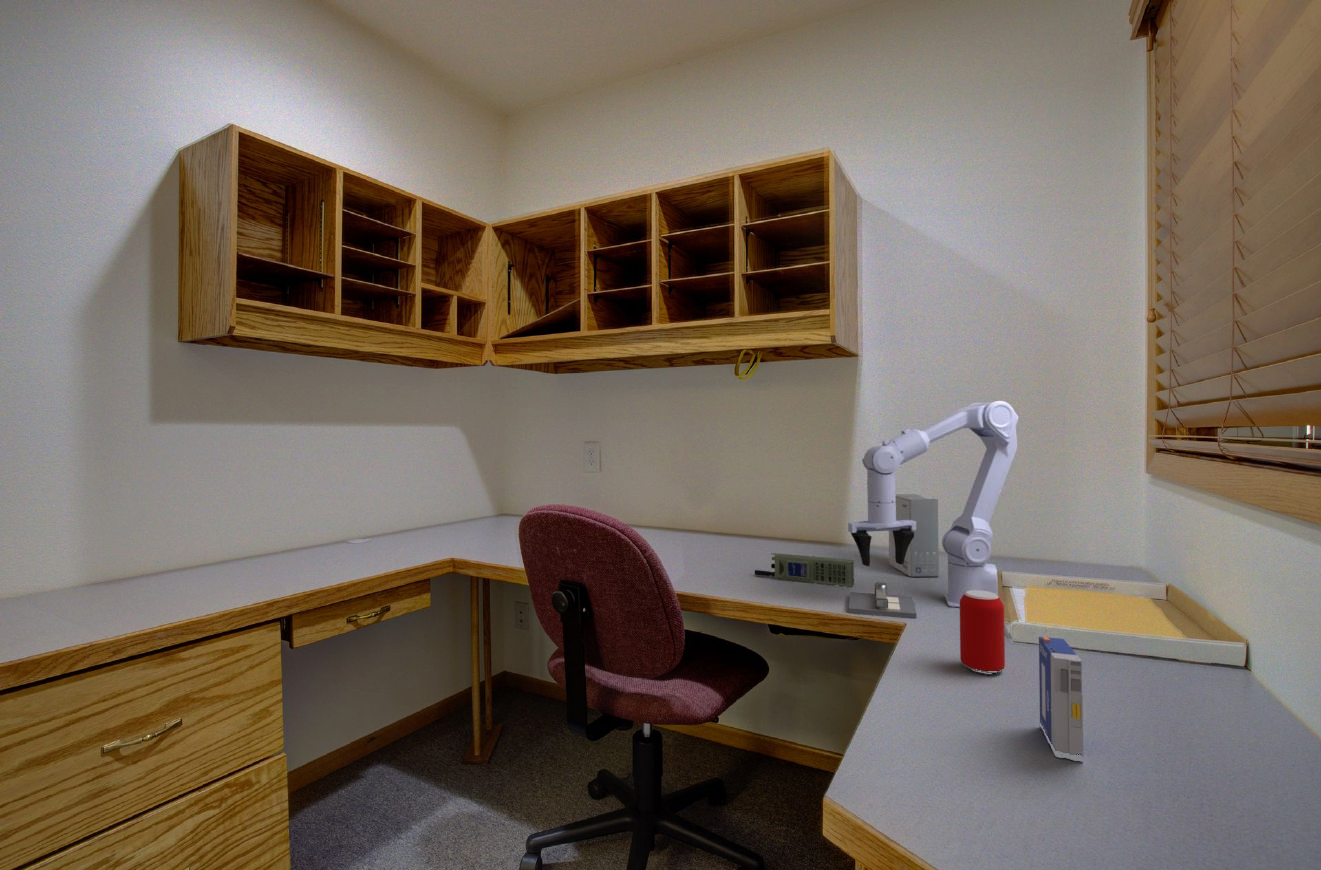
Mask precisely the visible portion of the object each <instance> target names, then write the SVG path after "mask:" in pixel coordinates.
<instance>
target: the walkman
mask: <svg viewBox="0 0 1321 870" xmlns="http://www.w3.org/2000/svg"><path fill="white" fill-rule="evenodd" d="M1038 661H1039V662H1038V665H1039V666H1038V668H1039V669H1038V670H1039V671H1038V672H1039V673H1038V674H1039V681H1038V682H1039V684H1038V685H1039V724H1040V723H1041V725H1042V726H1043V729H1044V730H1045V733H1046V735H1047V736H1048V738H1049V740H1050V742H1051V744H1052V745H1053V747H1054V749H1055V751H1060V752H1063V753H1069V754H1070V755H1077V754H1078V753H1079V754H1080V755H1081V756H1082V757H1083V758H1084V709H1083V708H1084V707H1083V705H1084V701H1083V663H1082V662H1083V660H1082V659H1081V658H1080V657H1079V656H1078V654H1076V652H1075V651H1074V650H1073V648H1072V647H1071V646H1070V645H1069V644H1068V642H1067V641H1066V640H1065V639H1064V638H1059V637H1056V638H1055V637H1048V636H1039V637H1038ZM1079 754H1078V755H1079Z"/></svg>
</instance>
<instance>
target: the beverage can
mask: <svg viewBox="0 0 1321 870" xmlns="http://www.w3.org/2000/svg"><path fill="white" fill-rule="evenodd" d="M1005 644H1006V643H1005V605H1004V603H1003V602H1002V600H1001V598H1000V596H999V594H998V595H996V594H995V593H992V592H988V591H981V590H970V591H967V592H965V593H964V594H963V596H962V598H961V599H960V607H959V648H960V649H959V653H960V654H959V655H960V657H959V659H960V662H961V663H962V665H964V667H966V668H967V667H968V669H969V668H970V669H973V670H975V671H980V670H981V672H986V673H996V674H998V673H1000V672H1003V671H1004V669H1005V666H1006V664H1005V663H1006V662H1005V661H1006V660H1005V659H1006V658H1005V656H1006V655H1005V654H1006V652H1005V651H1006V649H1005V648H1006V647H1005V646H1006V645H1005ZM970 669H969V670H970ZM976 669H977V670H976ZM1002 669H1003V670H1002ZM1000 670H1001V671H1000ZM988 671H997V672H998V673H997V672H988Z"/></svg>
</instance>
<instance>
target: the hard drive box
mask: <svg viewBox="0 0 1321 870" xmlns="http://www.w3.org/2000/svg"><path fill="white" fill-rule="evenodd" d="M895 494H896V520H913V521H916V530H911V531H912V532H914V538H913V539H912V541H911V542H910V544H909V547H908V549H907V552H906V555H905V559H904V564H902V565H901V564H898V563H896V559H895V541H894V536H893V531H888V558H889V559H888V563H889V565H890V566H892V567H893V568H895V569H896V570H899V571H900V572H901V573H903V574H905V575H906V576H908V577H914V578H916V577H930V578H932V577H934V578H935V577H939V576H940V570H939V569H940V568H939V567H940V565H939V564H940V563H939V562H940V560H939V559H940V557H939V550H940V548H939V499H938V498H933V497H930V496H924V495H919V494H915V493H899V494H898V493H895Z"/></svg>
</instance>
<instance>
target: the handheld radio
mask: <svg viewBox="0 0 1321 870" xmlns="http://www.w3.org/2000/svg"><path fill="white" fill-rule="evenodd" d="M771 555H773V556H772V557H771V560H772V561H774V563H771V565H770V567H771V569H774V571H770V570H769V571H768V570H760V569H759V570H758V569H755V570H754V575H756V576H763V577H773V578H774V580H776V579H779V580H778V581H787V582H795V581H797V582H796V583H806V584H807V583H808V584H814V583H817V584H818V585H824V584H825V585H826V586H834V585H839V586H838V587H843V586H847V587H846V588H853V587H854V586H853V585H855V583H854V582H855V581H854V579H855V578H854V577H855V576H854V574H855V573H854V572H855V571H854V570H855V569H854V568H855V567H854V566H855V565H854V564H855V562H854V561H855V560H854V559H847V558H837V557H822V556H811V555H798V554H787V553H775V552H772V553H771ZM817 584H816V585H817Z"/></svg>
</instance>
